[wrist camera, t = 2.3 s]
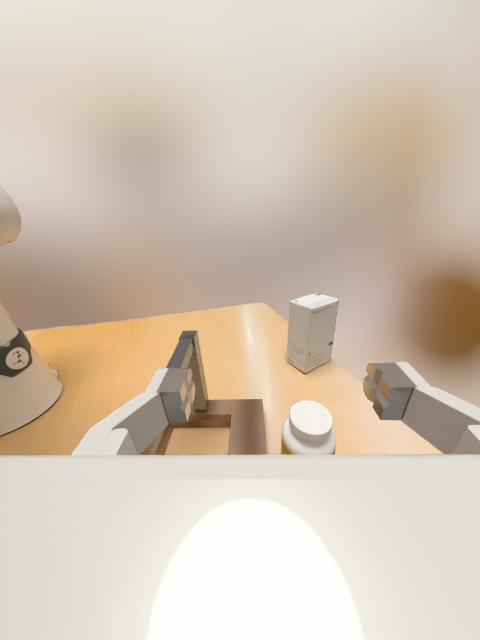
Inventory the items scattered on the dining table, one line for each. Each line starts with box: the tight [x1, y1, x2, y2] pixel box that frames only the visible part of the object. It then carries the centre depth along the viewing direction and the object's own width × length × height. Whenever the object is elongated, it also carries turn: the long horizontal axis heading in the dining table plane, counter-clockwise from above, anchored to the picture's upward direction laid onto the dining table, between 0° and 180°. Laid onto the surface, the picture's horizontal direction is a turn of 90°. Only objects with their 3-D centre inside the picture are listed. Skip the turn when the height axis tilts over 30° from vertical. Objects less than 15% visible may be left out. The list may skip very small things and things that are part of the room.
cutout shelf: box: [140, 399, 266, 455], centre depth 34 cm, size 20×12×3 cm, turn 88°
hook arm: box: [166, 331, 209, 412], centre depth 31 cm, size 2×12×17 cm, turn 178°
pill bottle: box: [281, 400, 336, 455], centre depth 28 cm, size 6×6×11 cm
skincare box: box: [287, 293, 339, 374], centre depth 48 cm, size 8×6×15 cm
